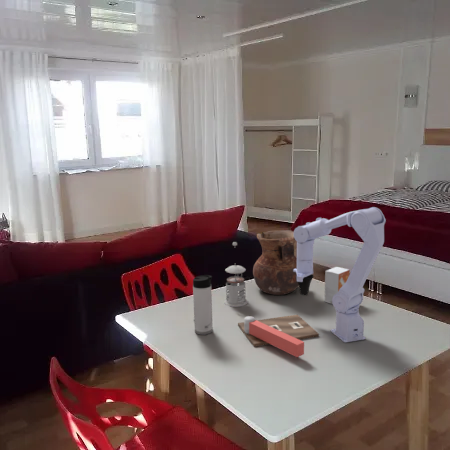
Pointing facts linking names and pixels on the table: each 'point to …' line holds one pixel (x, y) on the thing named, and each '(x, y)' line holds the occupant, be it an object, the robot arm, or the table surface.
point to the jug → (276, 263)
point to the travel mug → (202, 304)
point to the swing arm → (274, 336)
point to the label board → (284, 328)
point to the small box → (334, 281)
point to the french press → (235, 286)
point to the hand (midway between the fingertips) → (304, 294)
